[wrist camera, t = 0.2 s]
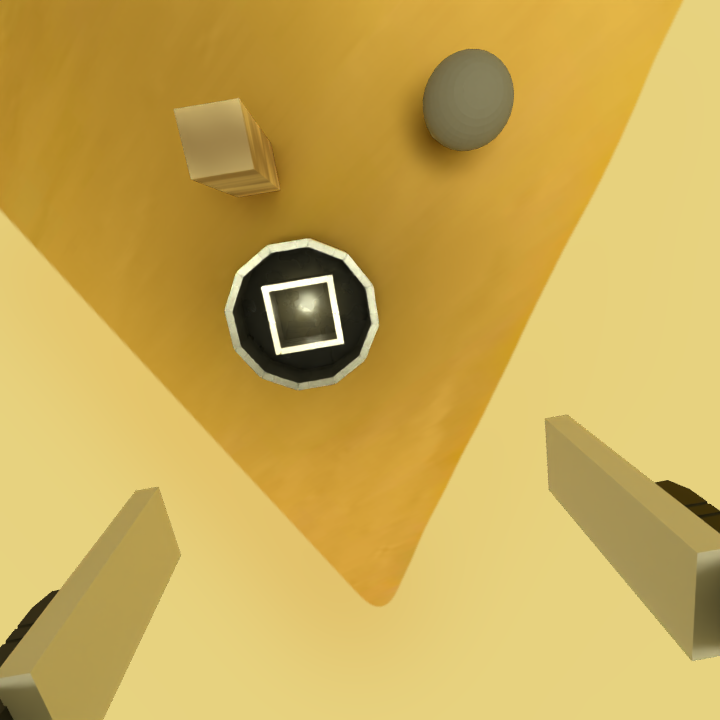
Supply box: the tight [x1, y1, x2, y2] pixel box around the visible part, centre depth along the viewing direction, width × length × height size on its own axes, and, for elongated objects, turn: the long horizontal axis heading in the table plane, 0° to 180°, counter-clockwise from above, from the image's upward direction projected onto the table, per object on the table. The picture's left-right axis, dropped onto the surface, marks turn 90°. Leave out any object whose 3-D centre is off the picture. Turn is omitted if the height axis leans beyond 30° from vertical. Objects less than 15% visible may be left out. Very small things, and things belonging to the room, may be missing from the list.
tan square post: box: [174, 98, 280, 197], centre depth 31 cm, size 4×4×13 cm
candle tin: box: [225, 238, 379, 390], centre depth 39 cm, size 12×12×4 cm
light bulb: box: [423, 49, 514, 151], centre depth 33 cm, size 6×6×10 cm
